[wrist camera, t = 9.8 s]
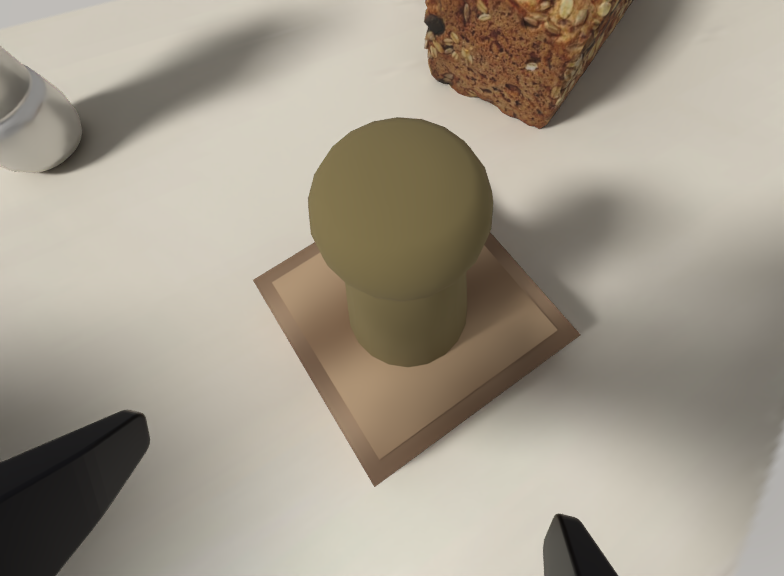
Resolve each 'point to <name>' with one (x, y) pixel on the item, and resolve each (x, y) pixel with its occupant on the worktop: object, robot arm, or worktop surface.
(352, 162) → the cork
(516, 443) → the worktop surface
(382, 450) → the plate
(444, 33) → the bread
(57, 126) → the plastic bottle
